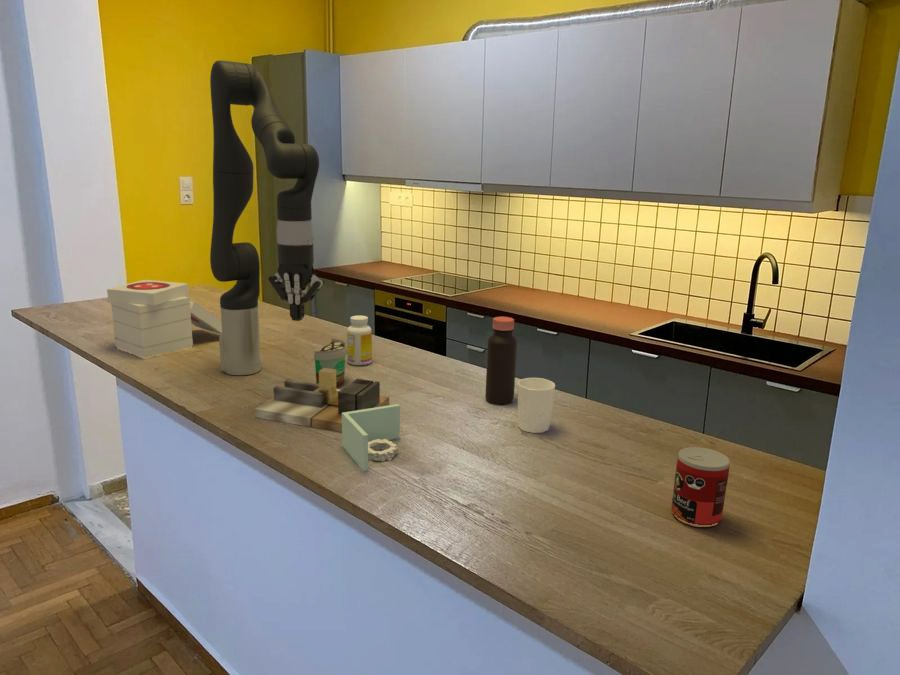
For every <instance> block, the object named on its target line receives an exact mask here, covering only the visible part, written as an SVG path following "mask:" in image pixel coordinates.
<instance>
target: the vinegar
mask: <svg viewBox="0 0 900 675" xmlns="http://www.w3.org/2000/svg"><path fill="white" fill-rule="evenodd" d="M514 329H515V318H513V317H508V316H496V317H493V318H492V331H493V333H492V334H491V335H490V336H489V337H488V339H487V355H486V375H485V376H486V377H485V394H484V395H485V396H484V397H485V401H486V402H488V403H490V404H493V405H509V404H511V403H513V401H514V399H515V385H516V384H515V383H516V367H517V365H516V364H517V351H518V350H517V348H518V340H517V338H516V337H515V336H514V335H513V332H514Z"/></svg>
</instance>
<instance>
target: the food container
mask: <svg viewBox="0 0 900 675" xmlns="http://www.w3.org/2000/svg"><path fill="white" fill-rule="evenodd" d="M347 354H348V348H347V344H346V342H345V341H343V340H341V339H337V338H331V340H330V343H328V344H327V345H324V346H323V347H322V348H321V349H320V350H318V351H317V350H314V351H313V361H314V366H315V367H314V368H315V380H316V383H315V384H319V370H321V369H323V368H329V369H336V389H338V388H340V387H342V386H343V385H344V383H345V370H346V356H347Z"/></svg>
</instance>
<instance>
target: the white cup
mask: <svg viewBox="0 0 900 675" xmlns="http://www.w3.org/2000/svg"><path fill="white" fill-rule="evenodd" d="M555 390H556V383H555V382H554V381H552V380H549V379H546V378H542V377H526V378H522V379H519V380H518V381H517V417H518V426H517V427H518V428H519V429H520V430H521V431H524V432H527V433H532V434H542V433H545V431H546V432H547V431H549V429H550V427H551V426H550V425H551V417H552V413H553V407H554V397H555V396H554V395H555Z"/></svg>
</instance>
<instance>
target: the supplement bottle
mask: <svg viewBox="0 0 900 675" xmlns="http://www.w3.org/2000/svg"><path fill="white" fill-rule="evenodd" d="M349 319H350V320H349V322H350V323H351V324H350V325H349V326H348V328H347V329H346V340H347V341H346V342H347V344H346V345H347V348H348V354H347V355H346V356H347V363H348V364H350V365H352V366H357V367H358V366H367V364H368V365H369V364H371V363H372V361H373V342H372V341H373V338H372V336H373V335H372V334H373V333H372V328H371V327H370V325H368V322H369V317H368V316H367V315H352V316H351V317H350V318H349Z"/></svg>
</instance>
